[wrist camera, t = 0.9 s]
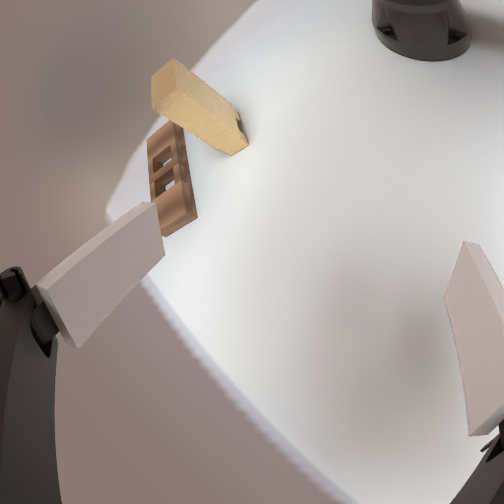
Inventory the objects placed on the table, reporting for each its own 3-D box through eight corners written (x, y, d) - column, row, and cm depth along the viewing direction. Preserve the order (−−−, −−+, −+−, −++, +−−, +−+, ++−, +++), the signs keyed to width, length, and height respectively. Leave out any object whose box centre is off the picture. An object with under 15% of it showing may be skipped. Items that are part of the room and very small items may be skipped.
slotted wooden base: (156, 144, 53) (146, 139, 51) (182, 123, 50) (172, 117, 48) (166, 236, 47) (154, 233, 45) (197, 217, 44) (185, 213, 42)
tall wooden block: (220, 125, 45) (151, 76, 32) (240, 111, 43) (173, 57, 31) (228, 157, 43) (152, 109, 30) (250, 143, 41) (176, 88, 28)
